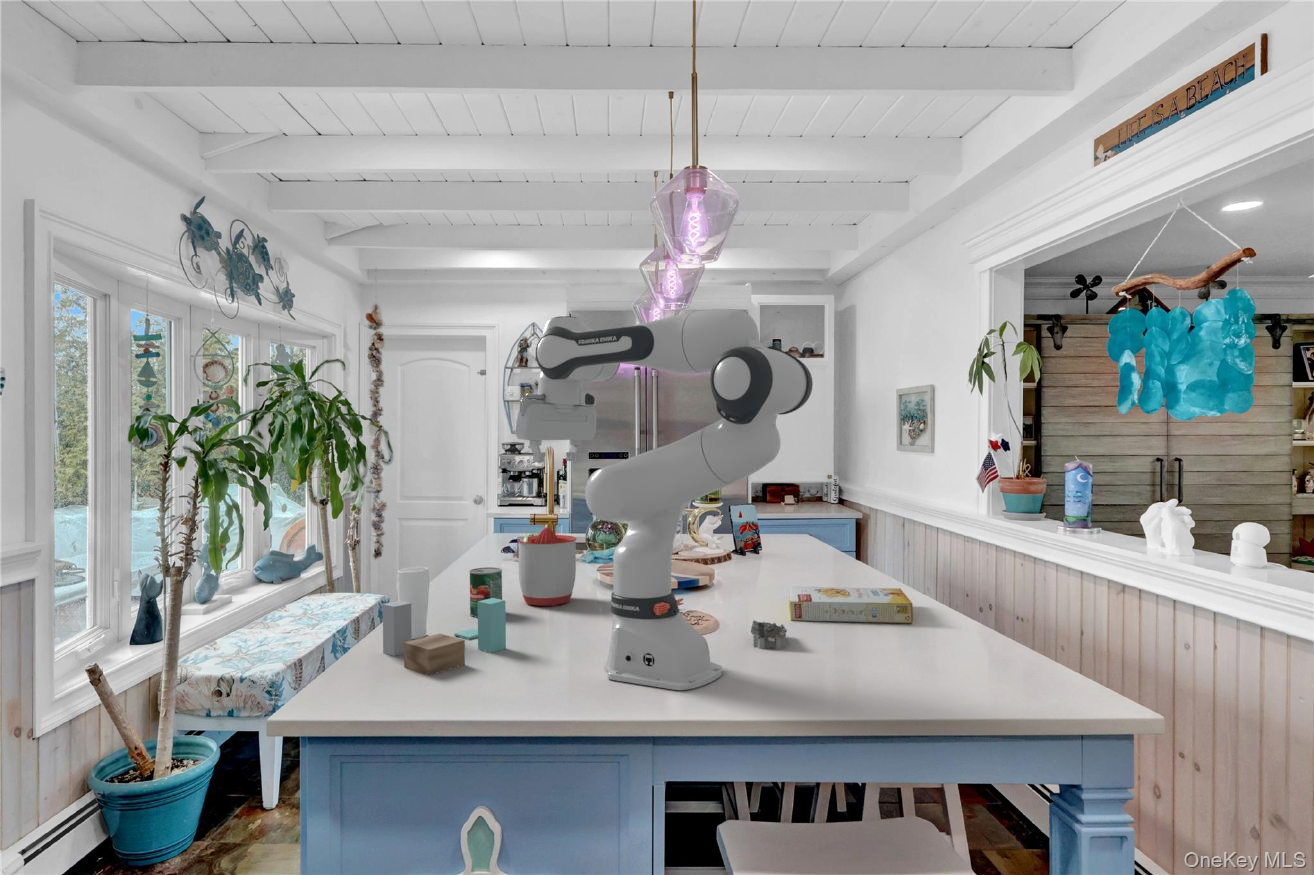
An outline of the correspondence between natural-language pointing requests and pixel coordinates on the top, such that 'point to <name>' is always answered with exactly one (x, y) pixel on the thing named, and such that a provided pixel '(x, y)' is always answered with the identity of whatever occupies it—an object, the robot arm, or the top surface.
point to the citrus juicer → (547, 568)
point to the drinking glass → (415, 596)
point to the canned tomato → (484, 586)
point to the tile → (467, 634)
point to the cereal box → (850, 604)
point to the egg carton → (768, 635)
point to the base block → (434, 654)
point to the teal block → (491, 625)
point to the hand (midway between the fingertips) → (555, 461)
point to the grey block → (396, 627)
